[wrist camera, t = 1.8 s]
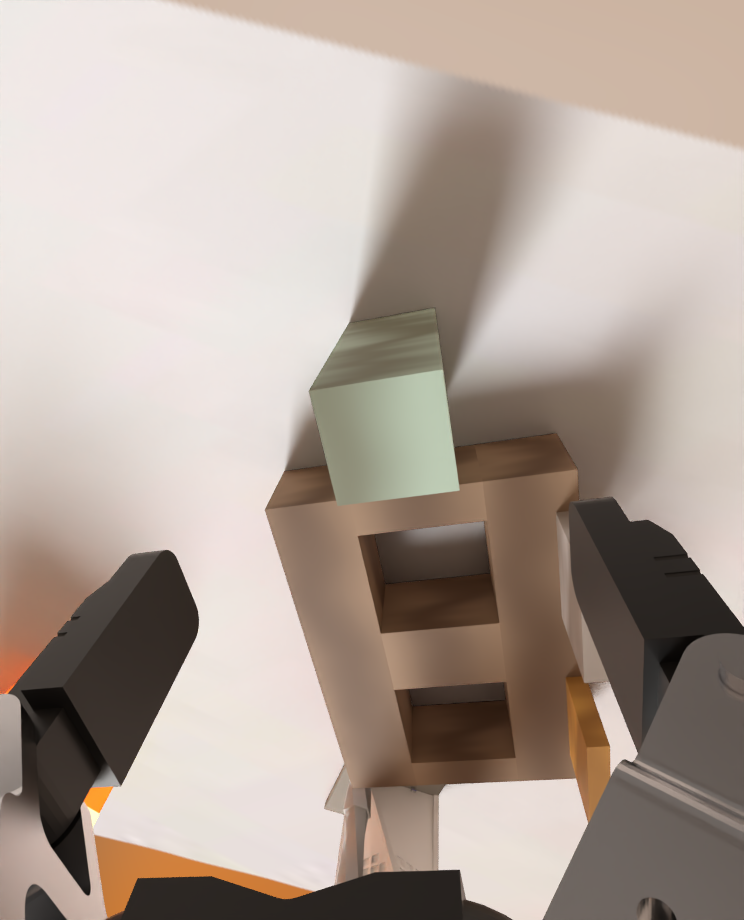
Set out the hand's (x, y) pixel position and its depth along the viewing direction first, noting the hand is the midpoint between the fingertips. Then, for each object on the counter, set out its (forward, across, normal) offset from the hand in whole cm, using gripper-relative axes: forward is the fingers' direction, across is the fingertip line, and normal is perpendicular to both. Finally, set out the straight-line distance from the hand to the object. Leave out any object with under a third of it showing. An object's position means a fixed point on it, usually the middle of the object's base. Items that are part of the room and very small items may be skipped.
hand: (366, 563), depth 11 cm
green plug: (+16, 0, 0) cm, 16 cm away
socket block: (+16, 0, +15) cm, 22 cm away
